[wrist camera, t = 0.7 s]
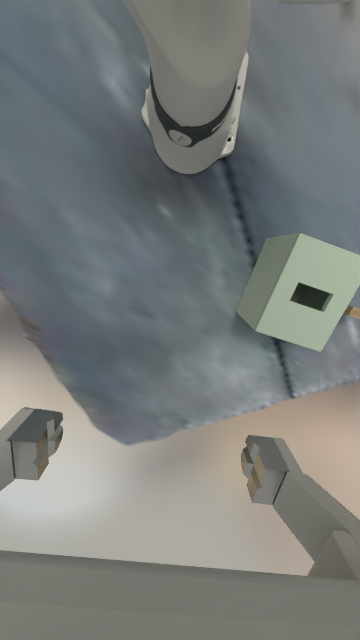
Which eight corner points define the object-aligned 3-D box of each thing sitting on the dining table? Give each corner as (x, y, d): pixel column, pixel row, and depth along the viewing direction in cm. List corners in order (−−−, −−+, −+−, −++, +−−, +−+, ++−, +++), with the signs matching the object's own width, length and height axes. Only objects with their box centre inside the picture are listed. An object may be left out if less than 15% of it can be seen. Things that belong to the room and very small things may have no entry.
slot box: (266, 238, 48) (300, 233, 35) (321, 258, 50) (373, 260, 36) (235, 311, 53) (255, 331, 40) (286, 327, 55) (320, 351, 42)
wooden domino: (328, 298, 53) (353, 306, 45) (345, 304, 53) (373, 313, 46) (323, 306, 53) (348, 315, 46) (341, 312, 54) (368, 322, 46)
